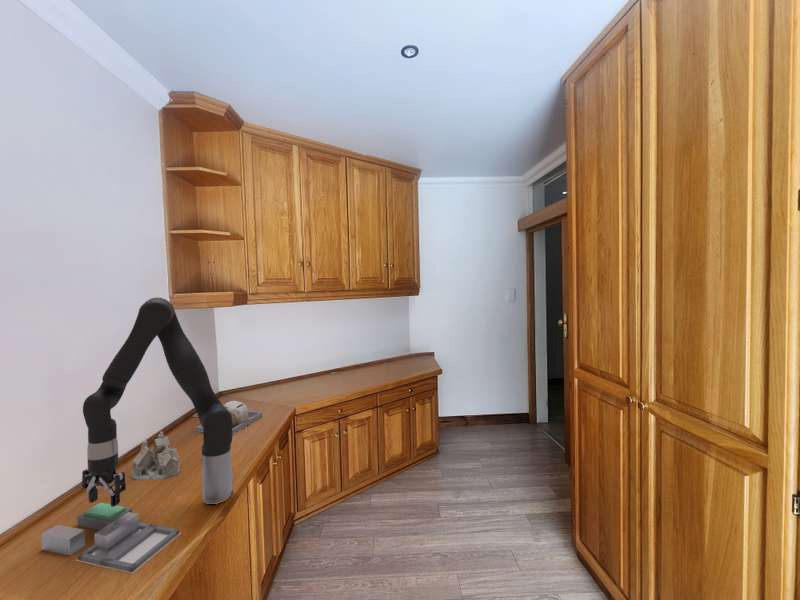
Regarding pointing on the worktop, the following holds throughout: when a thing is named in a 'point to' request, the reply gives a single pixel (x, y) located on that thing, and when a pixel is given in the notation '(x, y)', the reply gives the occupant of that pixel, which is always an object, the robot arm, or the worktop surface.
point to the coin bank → (237, 412)
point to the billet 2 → (116, 533)
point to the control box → (98, 520)
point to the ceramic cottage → (156, 461)
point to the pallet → (133, 549)
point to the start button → (104, 511)
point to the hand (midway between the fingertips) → (104, 503)
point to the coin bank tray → (255, 416)
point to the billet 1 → (63, 540)
